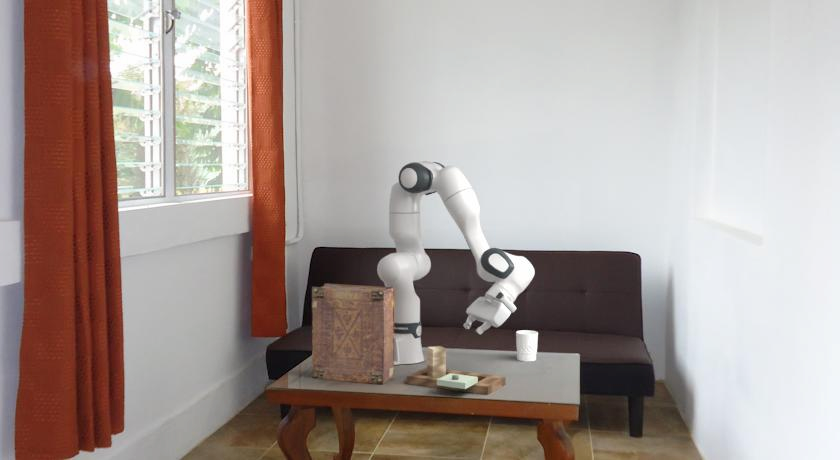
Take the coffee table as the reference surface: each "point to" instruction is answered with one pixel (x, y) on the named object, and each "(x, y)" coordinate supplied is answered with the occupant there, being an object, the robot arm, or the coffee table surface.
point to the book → (353, 333)
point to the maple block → (436, 361)
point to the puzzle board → (482, 387)
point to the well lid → (457, 381)
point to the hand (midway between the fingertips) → (471, 330)
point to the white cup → (526, 345)
